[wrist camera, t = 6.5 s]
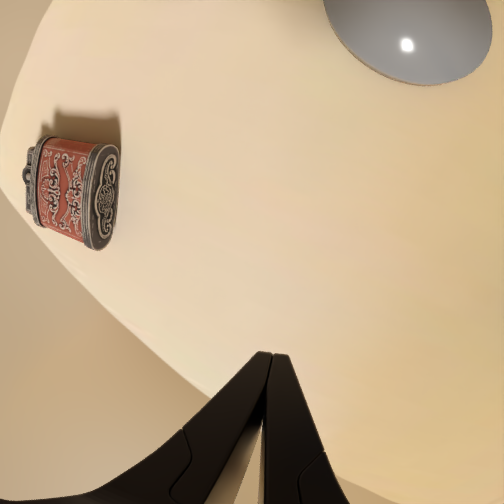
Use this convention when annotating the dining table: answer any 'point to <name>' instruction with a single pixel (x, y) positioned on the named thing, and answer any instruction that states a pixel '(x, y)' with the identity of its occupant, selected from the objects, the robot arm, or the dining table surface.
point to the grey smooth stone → (414, 37)
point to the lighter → (73, 188)
